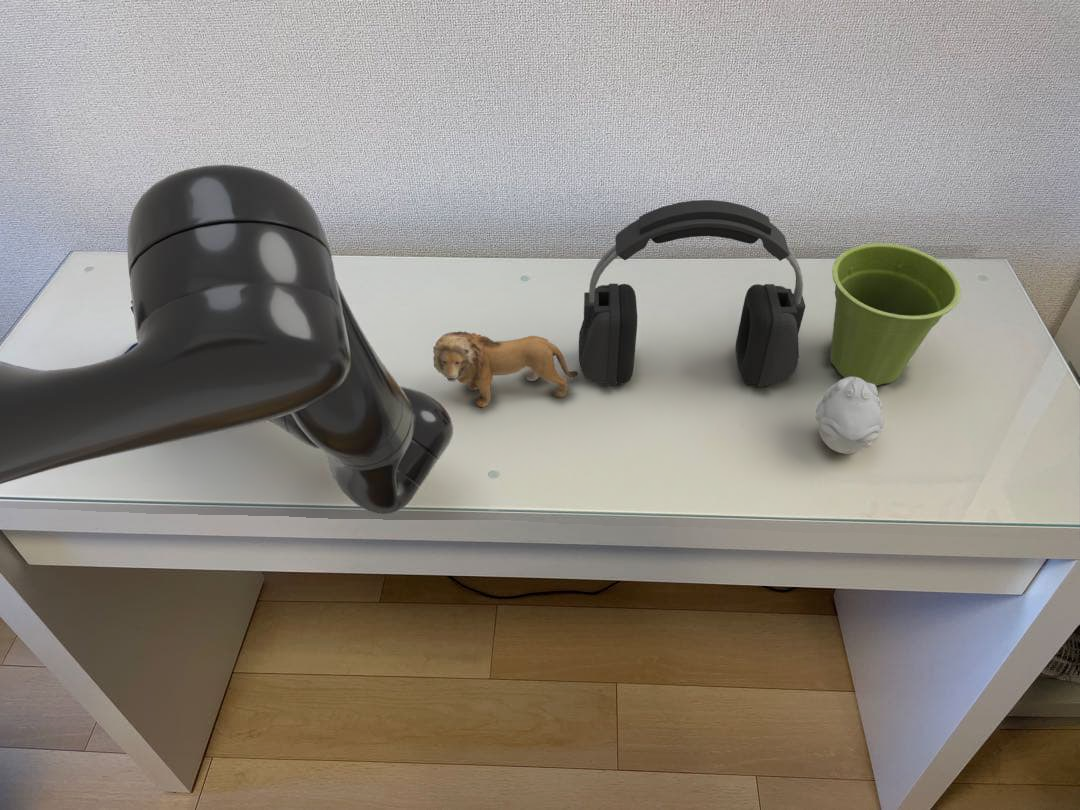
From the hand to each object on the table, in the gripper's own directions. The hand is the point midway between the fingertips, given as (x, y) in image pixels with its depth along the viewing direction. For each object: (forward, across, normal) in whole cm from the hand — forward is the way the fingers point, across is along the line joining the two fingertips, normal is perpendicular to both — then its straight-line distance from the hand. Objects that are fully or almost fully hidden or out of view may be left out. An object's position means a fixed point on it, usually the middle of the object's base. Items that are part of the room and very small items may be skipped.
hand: (148, 299), depth 85 cm
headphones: (-44, -31, +9) cm, 55 cm away
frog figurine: (-62, -31, +10) cm, 70 cm away
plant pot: (-59, -43, +10) cm, 74 cm away
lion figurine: (-31, -17, +9) cm, 37 cm away
